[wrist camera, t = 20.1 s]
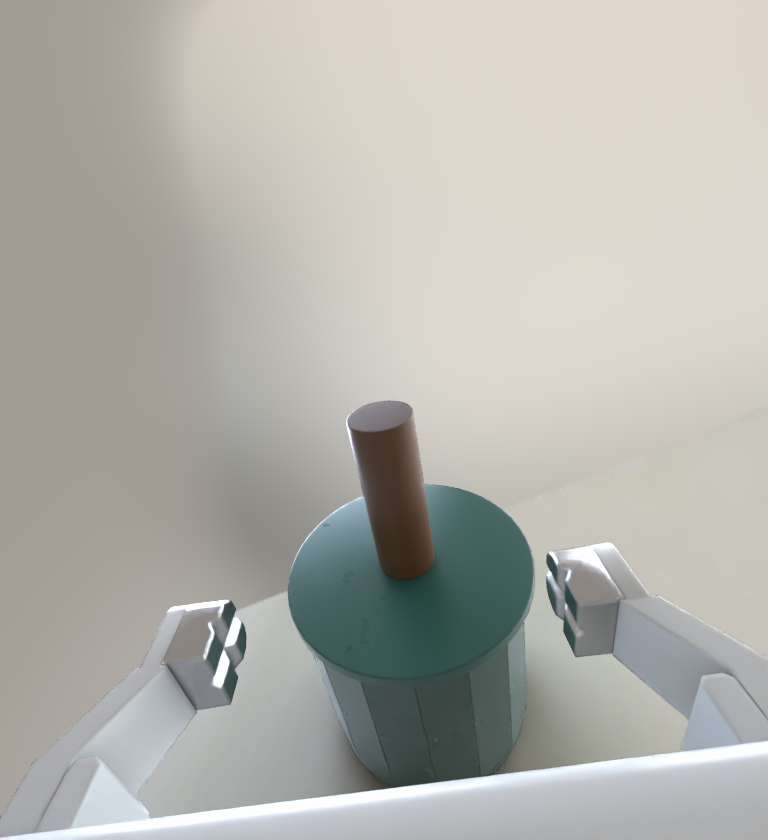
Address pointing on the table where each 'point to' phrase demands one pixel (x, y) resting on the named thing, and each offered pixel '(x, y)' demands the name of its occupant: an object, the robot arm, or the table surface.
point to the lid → (408, 568)
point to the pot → (435, 721)
